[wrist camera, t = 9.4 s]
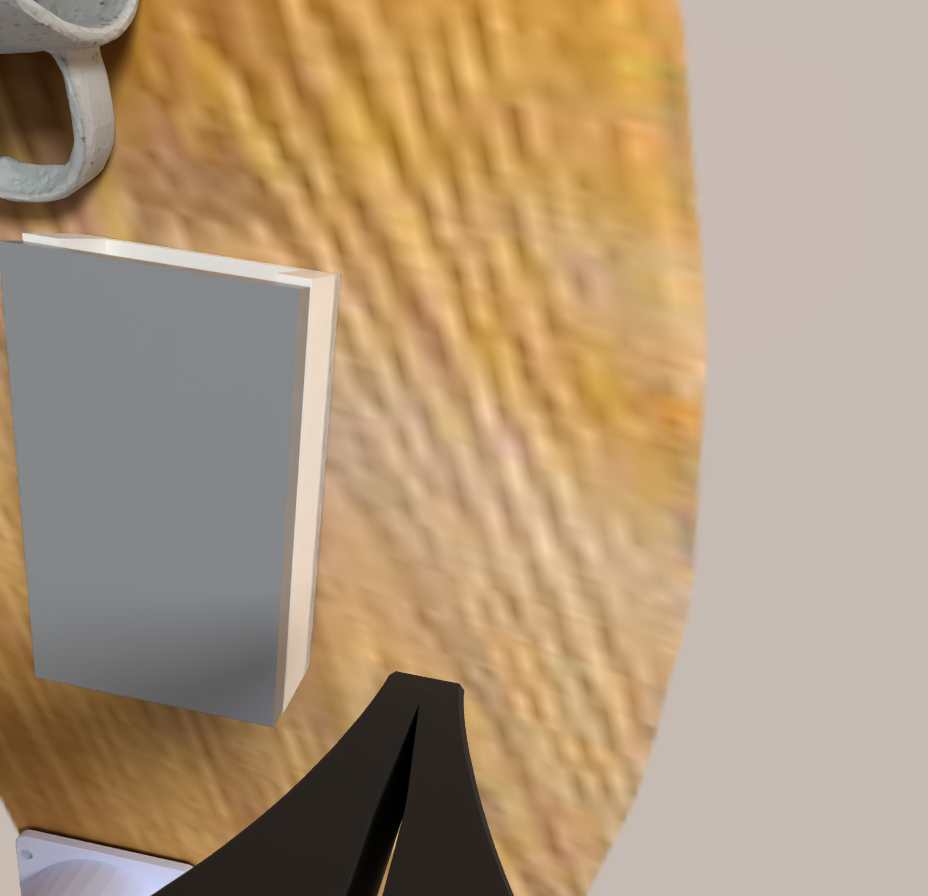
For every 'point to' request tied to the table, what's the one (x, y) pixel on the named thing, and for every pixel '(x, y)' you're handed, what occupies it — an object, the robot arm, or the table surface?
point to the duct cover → (156, 474)
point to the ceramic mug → (88, 92)
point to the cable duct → (313, 409)
